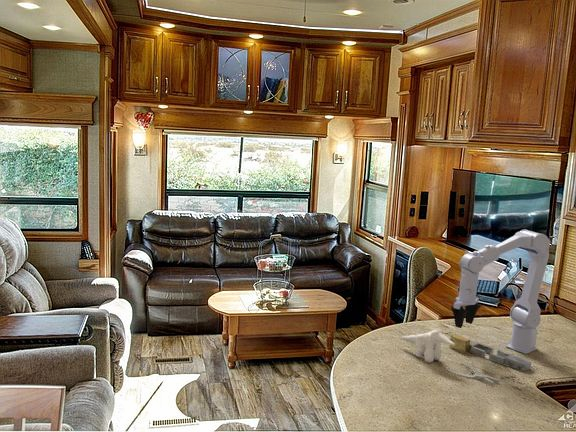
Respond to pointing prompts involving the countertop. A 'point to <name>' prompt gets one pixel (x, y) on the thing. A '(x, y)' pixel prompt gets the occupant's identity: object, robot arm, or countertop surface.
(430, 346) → the dinosaur statue
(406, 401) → the countertop surface
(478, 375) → the pliers
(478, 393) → the countertop surface
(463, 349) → the brushed brass bar
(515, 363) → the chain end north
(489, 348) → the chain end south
